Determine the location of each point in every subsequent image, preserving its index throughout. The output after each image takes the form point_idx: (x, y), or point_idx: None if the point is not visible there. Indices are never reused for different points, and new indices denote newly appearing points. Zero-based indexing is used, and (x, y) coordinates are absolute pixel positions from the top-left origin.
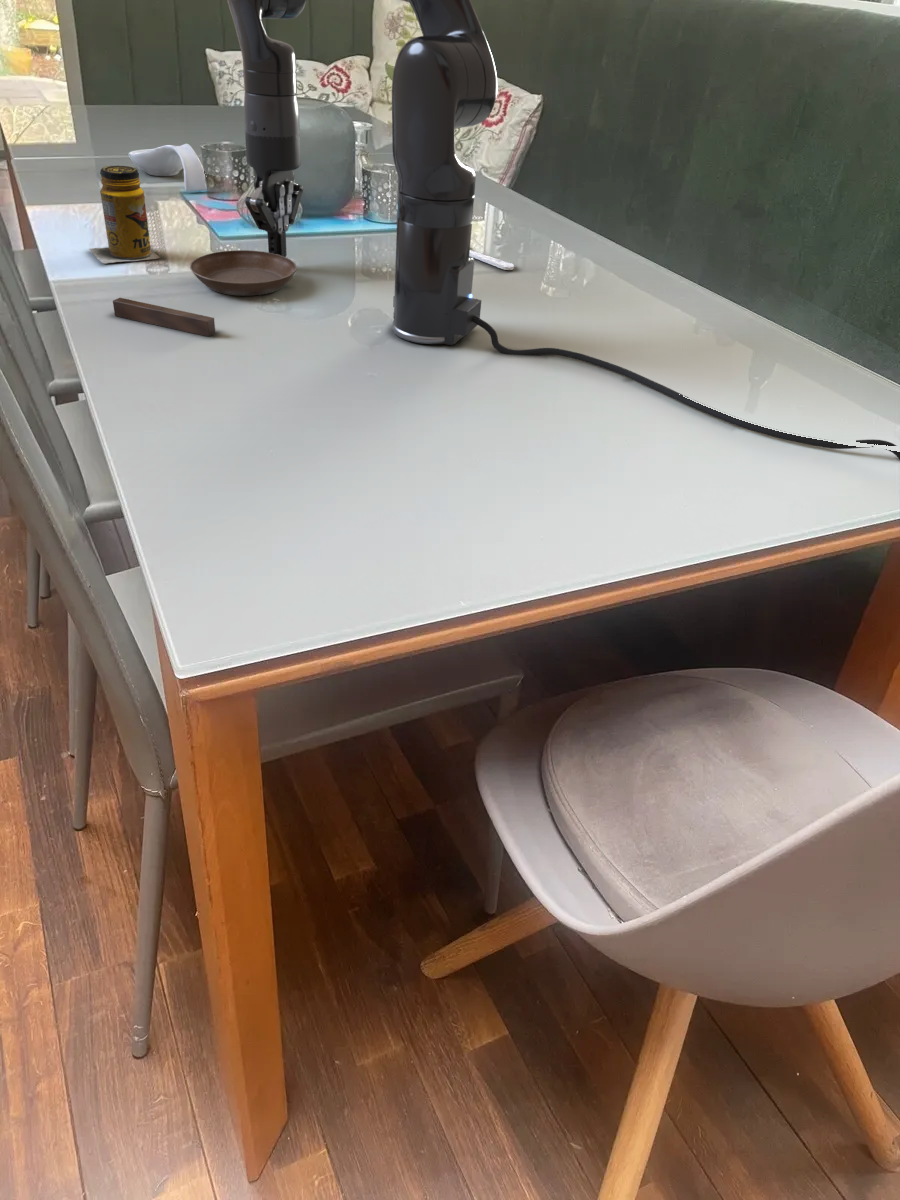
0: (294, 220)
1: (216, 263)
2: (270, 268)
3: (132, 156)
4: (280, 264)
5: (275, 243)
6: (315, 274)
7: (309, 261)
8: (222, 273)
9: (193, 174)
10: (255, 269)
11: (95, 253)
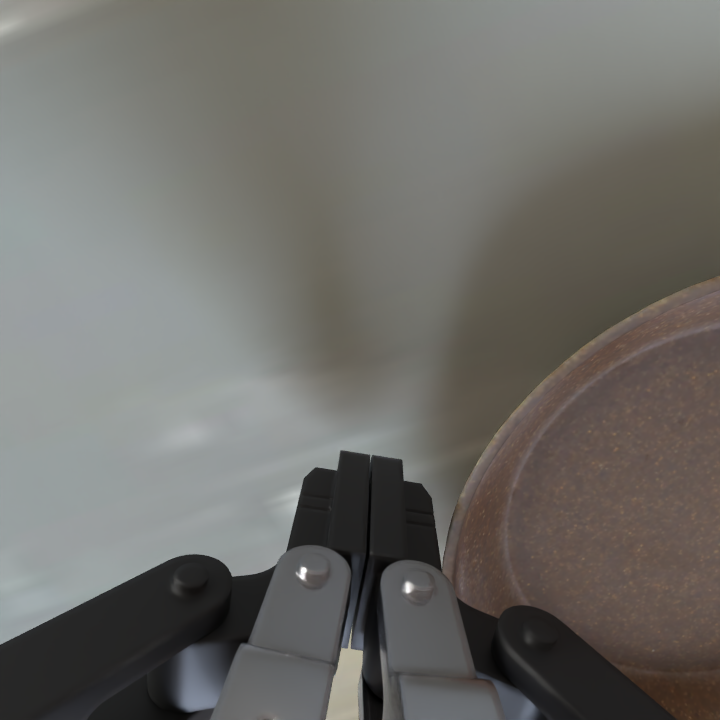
0: (152, 568)
1: None
2: (507, 469)
3: None
4: (518, 427)
5: (435, 544)
6: (382, 223)
7: (150, 343)
8: (621, 638)
9: None
10: (510, 534)
11: None
